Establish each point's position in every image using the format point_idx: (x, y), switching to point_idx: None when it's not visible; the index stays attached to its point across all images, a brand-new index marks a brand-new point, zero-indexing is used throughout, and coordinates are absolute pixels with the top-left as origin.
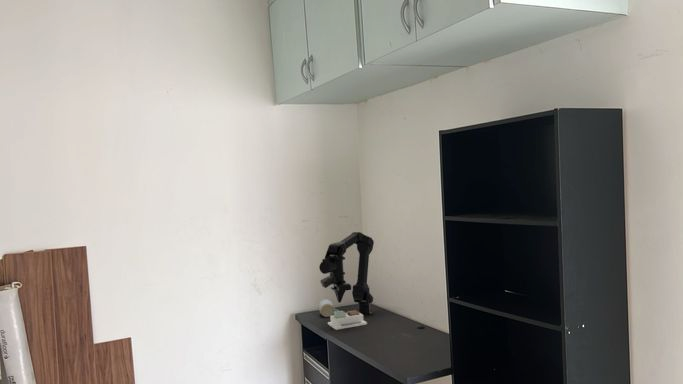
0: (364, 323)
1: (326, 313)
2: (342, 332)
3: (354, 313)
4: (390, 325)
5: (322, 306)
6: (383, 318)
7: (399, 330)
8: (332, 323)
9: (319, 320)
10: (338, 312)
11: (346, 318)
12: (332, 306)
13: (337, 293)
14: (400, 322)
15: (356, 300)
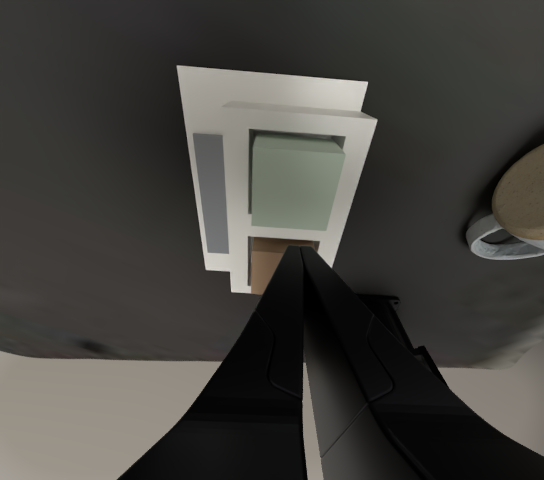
0: (205, 256)
1: (536, 168)
2: (94, 80)
3: (252, 268)
4: (150, 309)
5: None
6: None
7: (71, 303)
8: (306, 101)
9: (518, 70)
10: (292, 182)
11: (228, 198)
12: (535, 236)
13: (209, 382)
14: (175, 337)
15: (423, 360)
